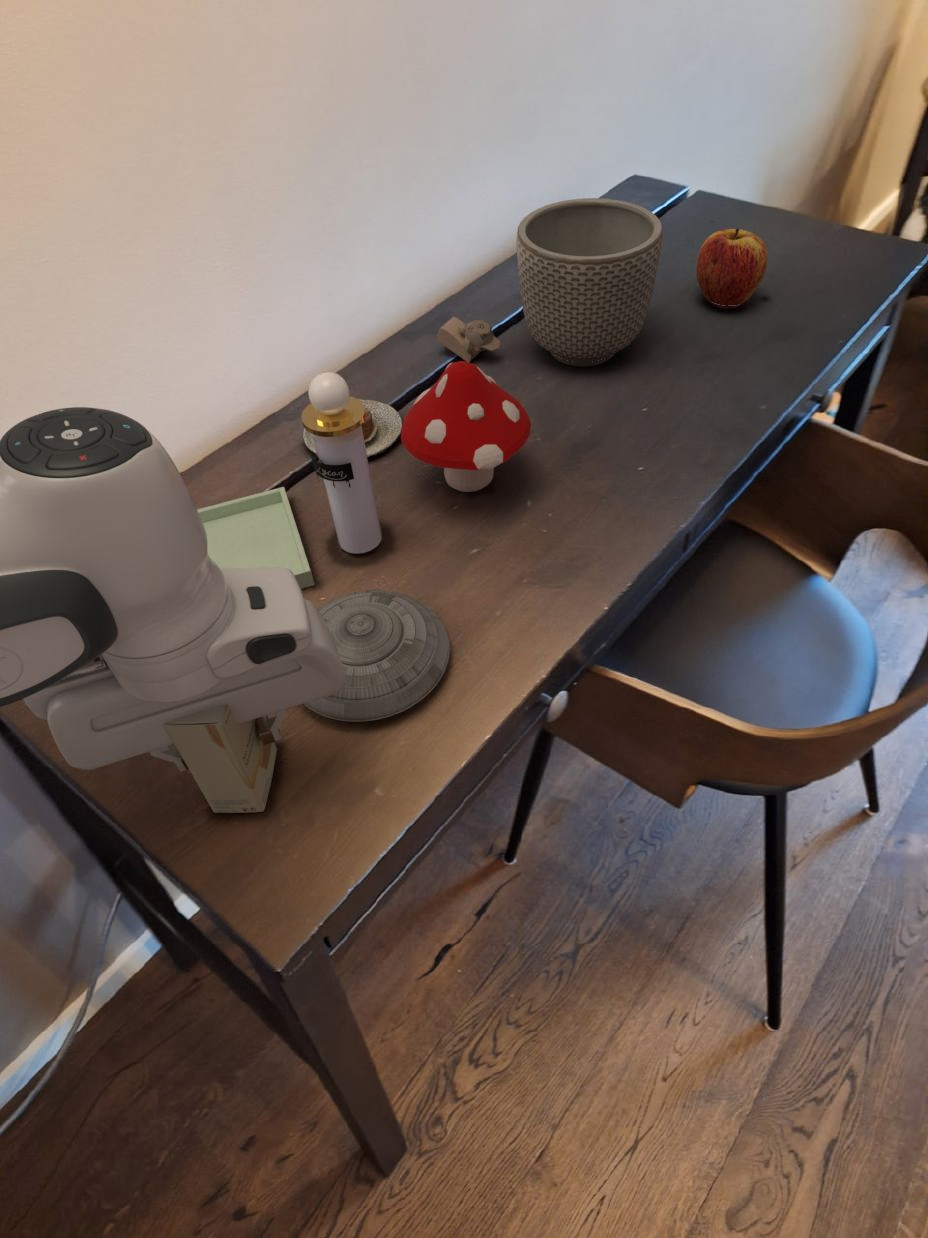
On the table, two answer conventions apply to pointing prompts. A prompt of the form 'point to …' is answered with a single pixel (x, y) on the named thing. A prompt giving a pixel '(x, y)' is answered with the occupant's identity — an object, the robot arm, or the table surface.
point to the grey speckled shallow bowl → (373, 428)
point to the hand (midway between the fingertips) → (231, 748)
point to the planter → (587, 276)
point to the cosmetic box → (225, 759)
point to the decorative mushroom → (465, 426)
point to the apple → (731, 266)
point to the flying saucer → (382, 654)
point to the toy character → (467, 337)
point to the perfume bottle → (343, 461)
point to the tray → (256, 534)
